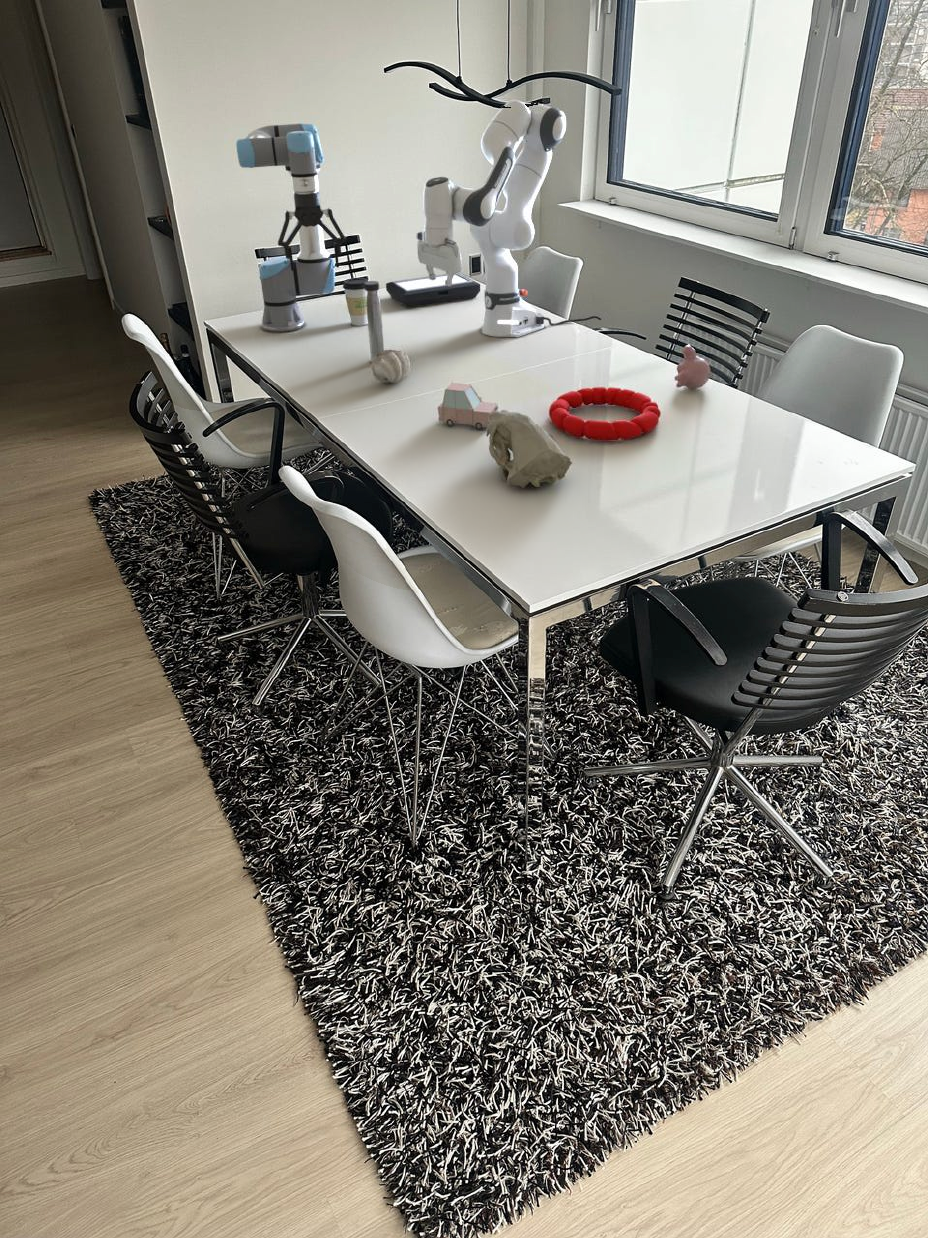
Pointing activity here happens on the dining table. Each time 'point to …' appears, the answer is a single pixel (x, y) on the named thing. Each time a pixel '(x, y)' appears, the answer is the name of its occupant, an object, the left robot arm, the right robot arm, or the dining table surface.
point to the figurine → (692, 370)
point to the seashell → (390, 366)
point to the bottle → (374, 323)
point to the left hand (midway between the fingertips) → (315, 268)
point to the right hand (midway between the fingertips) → (440, 282)
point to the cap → (371, 286)
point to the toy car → (465, 406)
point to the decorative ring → (604, 428)
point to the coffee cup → (356, 300)
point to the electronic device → (432, 290)
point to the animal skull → (525, 450)
